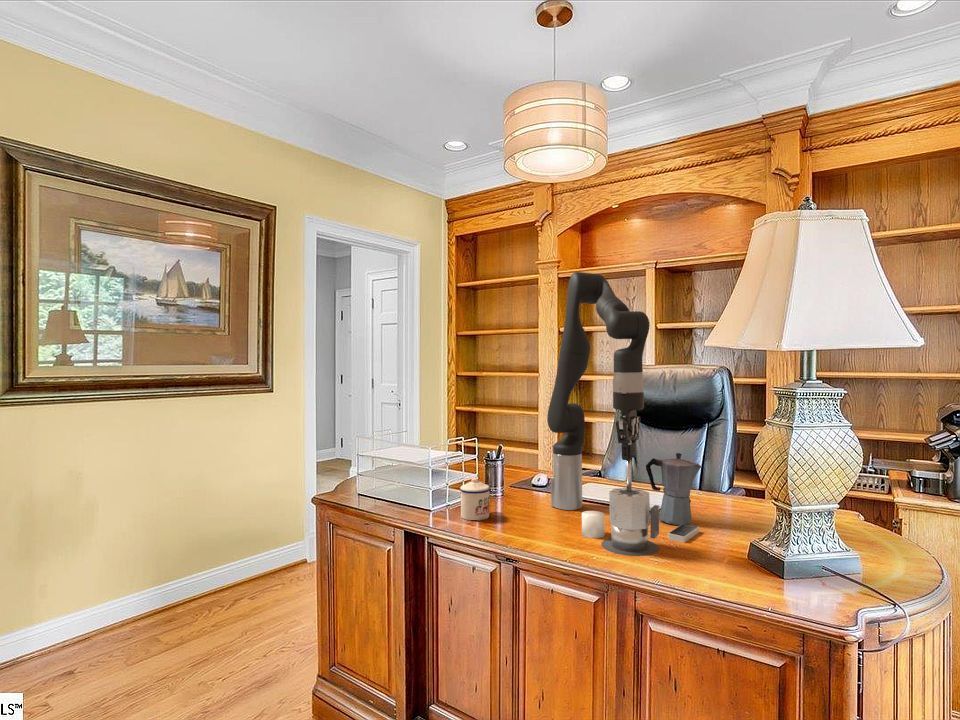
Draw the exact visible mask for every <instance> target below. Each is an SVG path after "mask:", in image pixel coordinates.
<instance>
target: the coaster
mask: <svg viewBox="0 0 960 720" xmlns="http://www.w3.org/2000/svg"><path fill="white" fill-rule="evenodd" d="M648 543H649V548H648V549H647V550H646V551H642V552H626V551H621V550H618V549H615V548H614V547H612V545H611V537H608V538H607V539H603V540H602V542H601V545H600V546H601V547H602V548H603V549H604V550H606V551H607V552H610V553H612V554H617V555H621V556H627V557H629V556H630V557H646V556H651V555H655V554H656V553H658V552H659V551H660V547H659V545H657V544H656V543H655V542H653V541H651V540H648Z"/></svg>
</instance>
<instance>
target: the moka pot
mask: <svg viewBox="0 0 960 720" xmlns="http://www.w3.org/2000/svg"><path fill="white" fill-rule="evenodd" d="M653 465H655V466H657V467H660V469H661V478H662V482H661V483H662V486H663V489H662V491H663V496H662V502H661V505H660V509H659V521H661V522H662V523H663V522H664V523H666V524H670V525H674V526H675V525H676V526H680V525H682V524H688V525H692V509H691V507H692V506H691V502H692V500H691V497H690V495H691V490H692V489H693V485H694V484H693V483H694V480H695V479H696V477H697V474H698V473H699V471H700V469H702V468H703V466H702V465H701V464H699V463H697V462H692V461H689V460H685V459H682V453H678V452H677V453H675V458H666V459H657V458H651V459H650V460H649V461H648V462H647V464H645V469H646V472H647V476H648V480H649V481H650V485H651V489H652V490H653V491H657V492H660V491H661V487H659V486H656V484H655V479H654V475H653V472H652V467H651V466H653Z"/></svg>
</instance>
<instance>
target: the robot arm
mask: <svg viewBox="0 0 960 720" xmlns="http://www.w3.org/2000/svg"><path fill="white" fill-rule="evenodd" d="M565 304H566V306H565V318H564V326H563V331H562V338H561V342H560V348H559V353H558V362H557V369H556V376H555V381H554V387H553V390H552V395H551V397H550V402H549V406H548V410H547V418H546V419H547V421H546V422H547V425H548V428H549V430H550V431H551V432H552V433H555V434H562V433H564V435H563V437H562V438H561V439H560V440H558V441H557V442H555V443H554V444H553V446H552V464H553V465H552V469H553V470H552V472H553V475H552V476H551V477H550V506H551V508H553V507H554V508H556V509H558V510H565V511H574V510H575V511H576V510H580V509H582V508H583V448H584V443H585V424H586V422H585V421H586V419H585V412H584V410H583V408H582V406H581V405H580V404H578V403H575V402H574V403H573V402H571V403H569V399H570V397H571V393H572V392H573V390H574V388H575V387H576V385H577V384H578V382H579V381H580V379H581V378H582V377H583V375H584V374H585V372H586V371H587V369H588V365H589V360H590V353H591V343H590V341H589V337H588V335H587V333H586V331H585V328H584V326H583V324H582V320H581V316H580V304H586V305H587V304H590V305H595V310H596V313H597V315H598V316H599V318H600V319H601V320H602V321H603V322H604V323H605V324H604V325H605V330H606V333H607V335H608V336H609V337H610V338H612V339H615V340H631V342H630V344H629V345H628V346H627V347H624V348H619V349H616V350H615V351H614V353H613V378H612V408H613V409H614V410H617V411H620V413H619V417H618V420H616V421H615V429H616V435H617V443H618V444H620V445H622V452H621V459H622V460H623V461H627V460H628V461H629V460H631V461H632V458H631V438H632V436H637V437H638V440H639V438H640V429H641V428H640V427H641V416H638V413H637V411H641V410H643V409H644V408H645V387H644V385H645V384H644V374H643V355H644V350H645V346H646V342H647V338H648V335H649V331H650V325H651V323H650V319H649V317H648V315H647V314H646V313H645V312H643V311H638V310H637V311H636V310H634V311H631V310H630V309H629V307H628V306H627V304H625V303H624V302H623V301H622V300H621V299H620V298H618V297H617V296H616V294H615V292H614V291H613V289H612V286H611V285H610V283H609V281H608V280H607V279H606V277H605V276H603V275H601V274H599V273H591V272H584V271H583V272H581V271H574V272H573V273H572V274H571V275H570V278H569V279H568V285H567V294H566V303H565ZM624 436H625V438H626V439H624ZM638 440H636V443H637V442H638Z"/></svg>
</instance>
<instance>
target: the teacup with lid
mask: <svg viewBox="0 0 960 720" xmlns="http://www.w3.org/2000/svg"><path fill="white" fill-rule="evenodd" d="M459 491H460V518H462V519H463V520H466V521H471V520H478V521H483V520H484V521H485V520H487V519H488V518H489V517H490V498H491V492H490V491H491V488H490V486H489V485H488V484H486V483H483V482H481V481H479V478H478V477H473V478H471V481H469V482H467V483H465V484H462V485H461V486H460V488H459Z"/></svg>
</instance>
